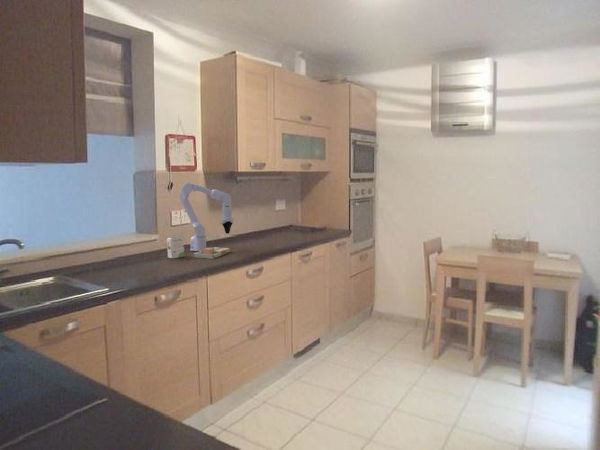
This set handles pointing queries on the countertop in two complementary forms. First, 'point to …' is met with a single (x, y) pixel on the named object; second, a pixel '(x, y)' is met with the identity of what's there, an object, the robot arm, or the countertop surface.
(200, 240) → the robot arm
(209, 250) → the tile rear
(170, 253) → the ink box
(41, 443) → the countertop surface
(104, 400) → the countertop surface
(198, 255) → the tray
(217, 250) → the beige square slab
